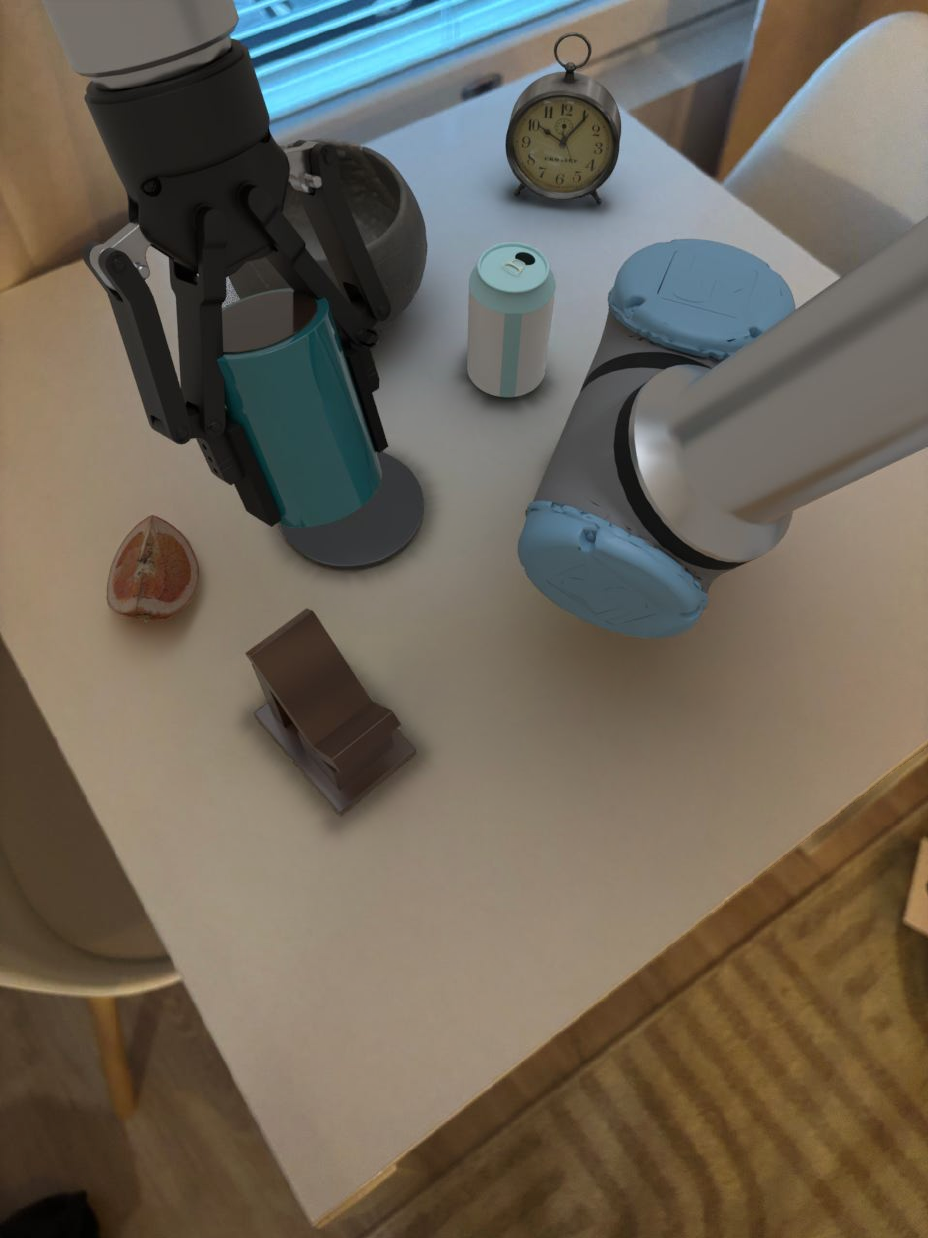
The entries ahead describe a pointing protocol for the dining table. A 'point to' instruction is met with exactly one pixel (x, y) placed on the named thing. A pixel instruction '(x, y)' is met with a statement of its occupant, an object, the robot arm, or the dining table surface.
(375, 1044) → the dining table surface
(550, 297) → the can
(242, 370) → the cup
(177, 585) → the fruit slice
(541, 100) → the alarm clock
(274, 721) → the cradle
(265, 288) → the bowl
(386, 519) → the coaster
